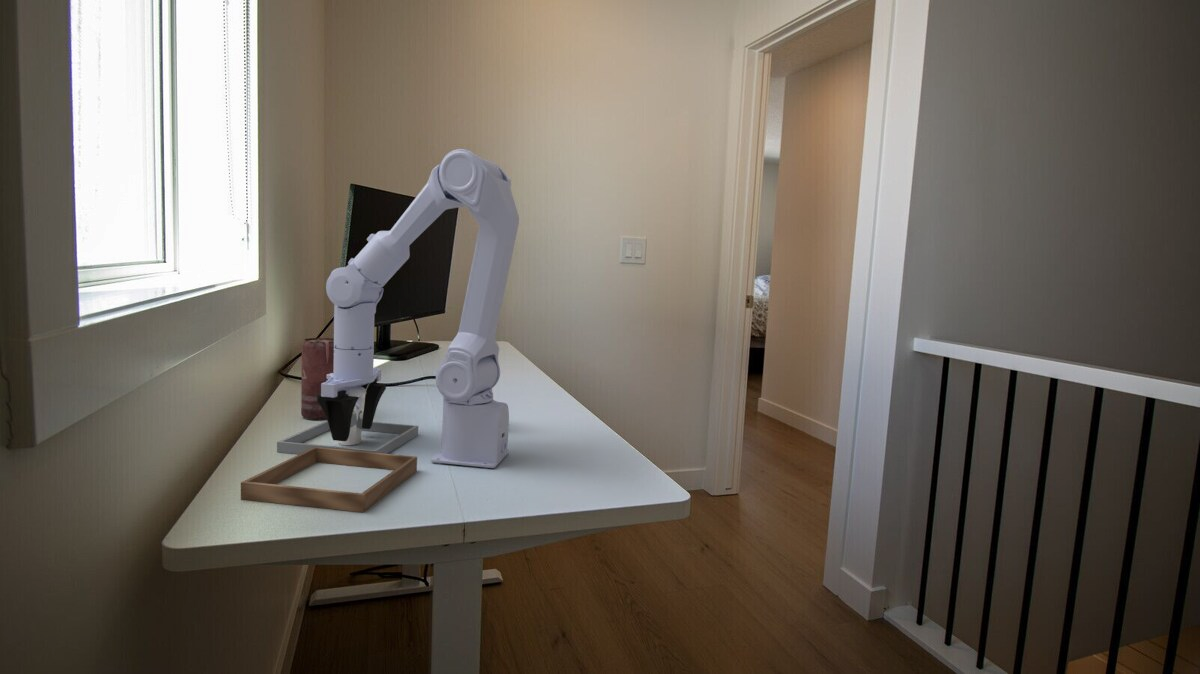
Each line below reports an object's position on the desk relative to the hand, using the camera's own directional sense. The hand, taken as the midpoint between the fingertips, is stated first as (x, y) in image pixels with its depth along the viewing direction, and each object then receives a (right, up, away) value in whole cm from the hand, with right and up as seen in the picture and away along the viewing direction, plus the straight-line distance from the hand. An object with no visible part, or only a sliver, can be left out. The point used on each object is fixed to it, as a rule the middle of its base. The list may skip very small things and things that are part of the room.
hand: (352, 434), depth 96 cm
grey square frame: (0, -1, 0) cm, 1 cm away
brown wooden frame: (+5, -4, -17) cm, 18 cm away
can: (-12, +1, +14) cm, 18 cm away
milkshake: (0, -2, 0) cm, 2 cm away
